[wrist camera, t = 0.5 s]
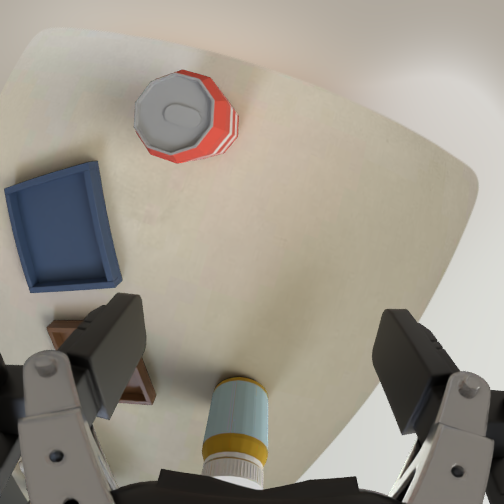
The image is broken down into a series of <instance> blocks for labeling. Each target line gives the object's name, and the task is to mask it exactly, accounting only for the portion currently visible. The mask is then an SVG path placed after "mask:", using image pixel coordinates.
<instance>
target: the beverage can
mask: <svg viewBox="0 0 504 504" xmlns="http://www.w3.org/2000/svg"><path fill="white" fill-rule="evenodd" d="M238 122H239V116H238V114H237V113H236V111H235V110H234V108H233V107H232V105H231V104H230V103H229V101H228V100H227V98H226V97H225V96H224V94H223V93H222V92H221V91H220V89H219V88H218V87H217V85H216V84H215V83H214V81H213V80H212V79H211V78H210V77H207V76H204V75H200V74H197V73H193V72H190V71H186V70H180V71H177V72H174V73H171V74H169V75H166V76H163V77H160V78H158V79H155V80H153V81H151V82H150V83H149V85H148V86H147V87H146V89H145V90H144V91H143V93H142V94H141V95H140V97H139V98H138V99H137V101H136V102H135V115H134V128H135V130H136V133H137V134H138V136H139V138H140V139H141V141H142V142H143V144H144V145H145V147H146V148H147V150H148V151H149V153H150V154H151V155H154V156H157V157H160V158H163V159H166V160H168V161H171V162H174V163H183V162H188V161H194V160H199V159H205V158H208V157H212V156H215V155H219V154H222V153H225V151H226V150H227V149H228V148H229V147H230V145H231V144H232V143H233V142H234V140H235V139H236V138H237V137H238Z"/></svg>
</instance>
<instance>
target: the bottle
mask: <svg viewBox="0 0 504 504" xmlns="http://www.w3.org/2000/svg"><path fill="white" fill-rule="evenodd" d="M202 455H203V459H204V465H203V469H202V474H201V475H205V476H210V477H213V478H217V479H220V480H223V481H226V482H230V483H233V484H237V485H240V486H244V487H248V488H252V489H257V490H263V467H264V465H265V463H266V461H267V457H268V395H267V391H266V390H265V388H264V387H263V386H262V385H261V384H259V383H258V382H256V381H254V380H252V379H249V378H244V377H234V378H229V379H226V380H224V381H222V382H220V383H219V384H218V385H217V386H216V388H215V389H214V393H213V396H212V401H211V406H210V411H209V416H208V421H207V426H206V431H205V436H204V441H203V448H202Z"/></svg>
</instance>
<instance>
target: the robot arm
mask: <svg viewBox="0 0 504 504" xmlns="http://www.w3.org/2000/svg"><path fill="white" fill-rule="evenodd" d="M145 346H146V330H145V323H144V314H143V306H142V299H141V297H140V295H136V294H127V293H117V294H116V295H115V296H114V297H113V298H112V299H111V300H110V301H109V303H108V304H107V305H102V306H100V307H99V308H97V309H95V310H93V311H91V312H90V313H89V314H88V316H87V317H86V318H85V319H84V320H83V322H81V323H80V324H79V326H78V327H77V329H75V330H74V331H73V332H72V333H71V335H70V336H69V337H68V338H67V339H66V340H65V341H64V343H63V344H62V345H61V346H60V347H59V348H58V350H57V351H56V350H45V351H41V352H38V353H36V354H34V355H32V356H31V357H29V358H28V359H27V360H26V362H25V363H24V365H5V363H4V361H3V358H2V356H1V354H0V496H1V494H2V492H3V490H4V488H5V486H6V484H7V482H8V480H9V478H10V476H11V474H12V472H13V470H14V468H15V466H16V464H17V462H18V460H19V458H20V456H21V457H22V463H23V469H24V475H25V480H26V485H27V490H28V495H29V499H30V503H31V504H482V503H483V499H484V495H485V492H486V494H487V497H488V500H489V503H490V504H504V391H496V390H490V387H489V385H488V384H487V382H486V381H485V380H484V379H483V378H481V377H479V376H478V375H476V374H474V373H471V372H465V371H460V370H459V369H458V368H457V366H456V365H455V363H454V362H453V361H452V359H451V358H450V356H449V355H448V354H447V352H446V351H445V350H444V349H443V347H442V346H441V344H440V343H439V342H437V339H436V338H435V336H434V335H433V334H432V332H431V331H430V330H429V329H427V328H426V327H424V326H423V325H421V324H420V323H417V322H416V320H415V319H414V318H413V316H412V315H411V314H410V312H409V311H408V310H407V309H386V310H384V312H383V314H382V317H381V321H380V325H379V328H378V332H377V336H376V339H375V343H374V346H373V352H372V361H373V365H374V368H375V370H376V373H377V375H378V377H379V380H380V382H381V384H382V387H383V389H384V391H385V394H386V396H387V399H388V401H389V404H390V406H391V409H392V411H393V413H394V416H395V418H396V421H397V424H398V426H399V429H400V431H401V434H402V435H405V434H412V433H416V434H417V436H418V437H417V439H416V441H415V443H414V444H413V446H412V449H411V451H410V453H409V456H408V458H407V460H406V462H405V464H404V466H403V468H402V470H401V472H400V474H399V476H398V478H397V480H396V482H395V484H394V486H393V487H392V489H391V491H390V493H389V494H388V495H385V494H382V493H379V492H375V491H370V490H366V489H359V488H358V483H357V478H356V477H355V476H354V477H344V478H332V479H317V480H316V479H315V480H307V481H303V482H299V483H294V484H290V485H285V486H280V487H275V488H270V489H264V490H257V489H252V488H248V487H244V486H240V485H237V484H233V483H230V482H226V481H223V480H220V479H217V478H213V477H210V476H205V475H197V474H190V473H183V472H176V471H171V470H165V469H161V471H160V475H159V478H158V481H147V482H139V483H134V484H130V485H126V486H123V487H120V488H119V487H118V485H117V483H116V481H115V479H114V477H113V474H112V472H111V470H110V468H109V465H108V463H107V460H106V458H105V455H104V453H103V450H102V448H101V445H100V442H99V440H98V437H97V434H96V432H95V429H94V426H93V424H92V423H93V421H94V420H95V418H96V417H100V418H104V419H108V420H110V418H111V416H112V414H113V412H114V410H115V408H116V406H117V404H118V402H119V400H120V398H121V396H122V394H123V392H124V390H125V388H126V386H127V384H128V382H129V380H130V378H131V376H132V374H133V372H134V370H135V368H136V367H137V365H138V363H139V361H140V359H141V357H142V355H143V353H144V350H145Z"/></svg>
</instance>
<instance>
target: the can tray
mask: <svg viewBox="0 0 504 504" xmlns="http://www.w3.org/2000/svg"><path fill="white" fill-rule="evenodd" d="M4 192H5V197H6V202H7V207H8V212H9V217H10V222H11V226H12V231H13V235H14V239H15V243H16V247H17V250H18V254H19V258H20V261H21V265H22V268H23V271H24V275H25V278H26V281H27V284H28V287H29V290H30V293H41V292H58V291H74V290H90V289H104V288H115V287H116V286H117V285H118V284H119V283H120V282H121V281H122V277H121V273H120V269H119V265H118V261H117V257H116V253H115V248H114V244H113V240H112V235H111V231H110V226H109V221H108V216H107V211H106V206H105V201H104V196H103V190H102V184H101V178H100V172H99V166H98V161H92V162H87V163H83V164H79V165H76V166H72V167H69V168H65V169H62V170H59V171H55V172H52V173H49V174H46V175H43V176H40V177H36V178H33V179H30V180H27V181H25V182H22V183H19V184H16V185H13V186H10V187H8V188H5V189H4Z"/></svg>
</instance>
